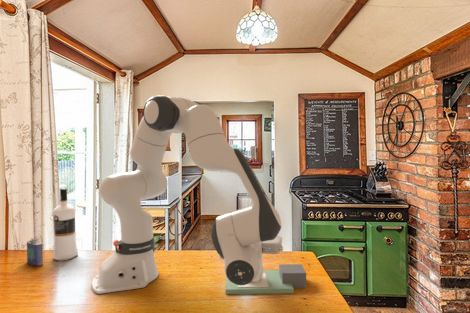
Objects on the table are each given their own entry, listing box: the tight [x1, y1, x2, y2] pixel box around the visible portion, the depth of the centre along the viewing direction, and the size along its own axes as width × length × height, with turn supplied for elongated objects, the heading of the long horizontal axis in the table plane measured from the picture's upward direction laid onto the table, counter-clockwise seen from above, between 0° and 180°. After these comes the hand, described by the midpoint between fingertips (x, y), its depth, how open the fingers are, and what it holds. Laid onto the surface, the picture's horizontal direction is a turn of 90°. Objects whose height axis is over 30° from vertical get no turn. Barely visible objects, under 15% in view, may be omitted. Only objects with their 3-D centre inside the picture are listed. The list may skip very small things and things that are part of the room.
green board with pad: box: [225, 263, 307, 295], centre depth 100 cm, size 27×14×5 cm, turn 90°
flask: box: [26, 237, 44, 267], centre depth 119 cm, size 9×3×11 cm, turn 61°
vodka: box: [52, 188, 79, 261], centre depth 125 cm, size 9×9×30 cm
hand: (252, 235), depth 99 cm, fingers open, 8 cm apart
